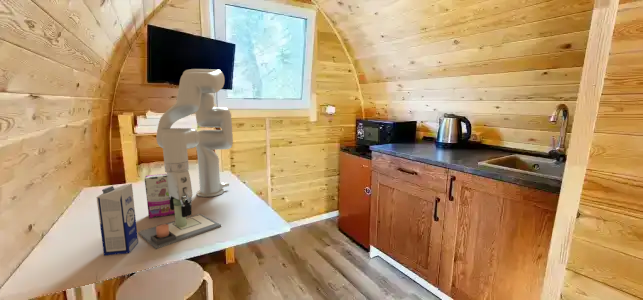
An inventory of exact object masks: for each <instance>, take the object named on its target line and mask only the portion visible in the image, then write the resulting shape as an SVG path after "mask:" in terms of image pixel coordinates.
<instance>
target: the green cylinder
mask: <svg viewBox="0 0 643 300" xmlns="http://www.w3.org/2000/svg"><path fill="white" fill-rule="evenodd" d="M185 200H186V199H185ZM185 200H183V201H184V202H185ZM173 201H174V210H175V214H174V221H175V223H176V227H183V226H186V225H187V221H186V218H187V217H182V212H181V206H182V204H181V201H180V200H178V199H176V198H174V199H173Z"/></svg>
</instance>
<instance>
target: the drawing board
mask: <svg viewBox="0 0 643 300" xmlns="http://www.w3.org/2000/svg"><path fill="white" fill-rule="evenodd" d="M186 221H187V225H186V226H183V227H176V223H175V220H174V221H170V222H167V223H166V224H168V225H169V235H168V236H166V237H162V238H159V237H157V234H156V227H157V226H158V225H157V226H154V227H150V228H147V229H143V230H140V231H137V234H139V235H140V236H141V238H143V239H144V240H145V241H146V242H148V243H149V244H150V246H152V247H153V248H154V249H156V250H157V249H160V248H162V247H163V248H164V247H165V246H169V245H172V244H174V243H179V242H180V241H183V240H186V239H190V238H191V237H192V238H193V237H195V236H198V235H200V234H204V233H206V232H209V231H214V230H215V229H218V228H221V227H222V224H221V223H218V221H215V220H214V219H211V218H209V217H208V216H205V215H203V214H201V213H197V214H194V215H190V216H187V217H186Z"/></svg>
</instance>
